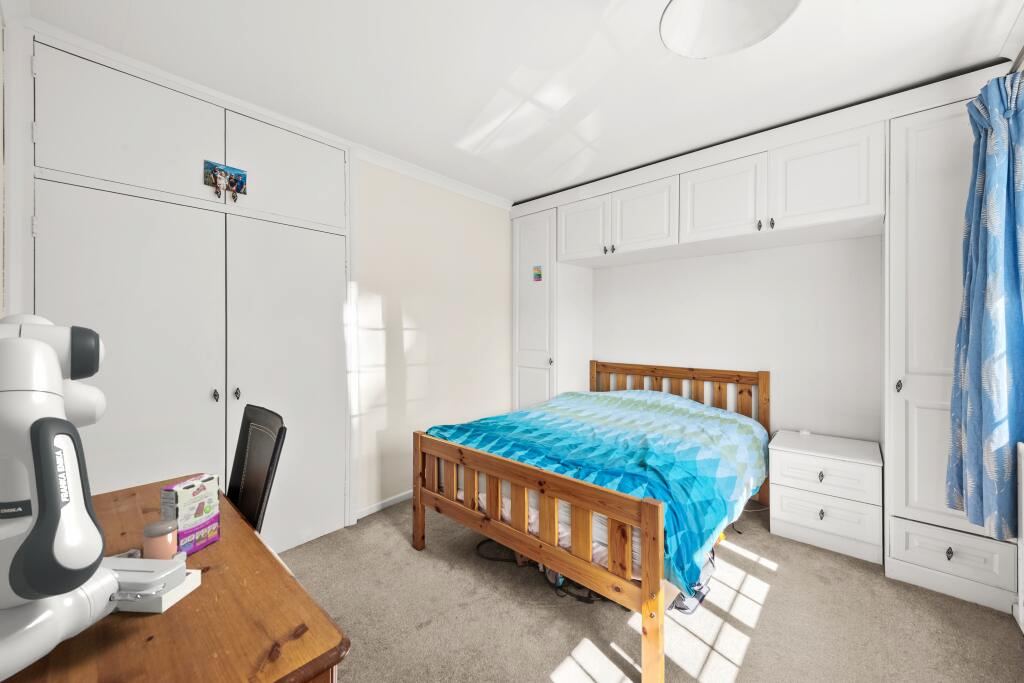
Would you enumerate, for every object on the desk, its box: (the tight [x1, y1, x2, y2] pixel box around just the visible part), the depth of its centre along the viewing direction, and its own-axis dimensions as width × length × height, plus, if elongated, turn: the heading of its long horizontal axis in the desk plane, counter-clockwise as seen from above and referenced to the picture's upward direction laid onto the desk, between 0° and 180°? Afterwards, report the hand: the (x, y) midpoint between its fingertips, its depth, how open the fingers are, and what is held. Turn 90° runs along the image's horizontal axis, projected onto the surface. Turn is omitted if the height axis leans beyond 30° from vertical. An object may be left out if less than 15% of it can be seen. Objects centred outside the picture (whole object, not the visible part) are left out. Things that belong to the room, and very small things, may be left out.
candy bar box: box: [160, 473, 221, 558], centre depth 101 cm, size 11×5×16 cm, turn 168°
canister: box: [142, 520, 177, 560], centre depth 83 cm, size 5×5×14 cm
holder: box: [116, 568, 202, 614], centre depth 83 cm, size 9×9×3 cm
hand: (159, 554), depth 83 cm, fingers open, 8 cm apart
